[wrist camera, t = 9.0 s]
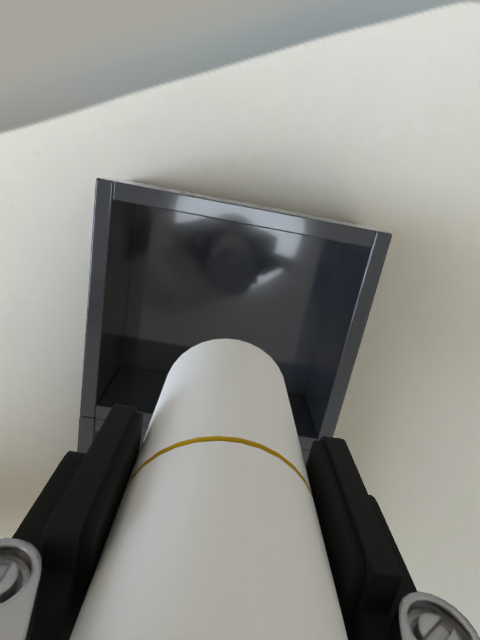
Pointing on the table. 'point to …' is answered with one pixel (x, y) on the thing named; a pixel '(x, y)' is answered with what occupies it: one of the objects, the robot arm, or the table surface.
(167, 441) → the tube
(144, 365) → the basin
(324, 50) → the table surface
